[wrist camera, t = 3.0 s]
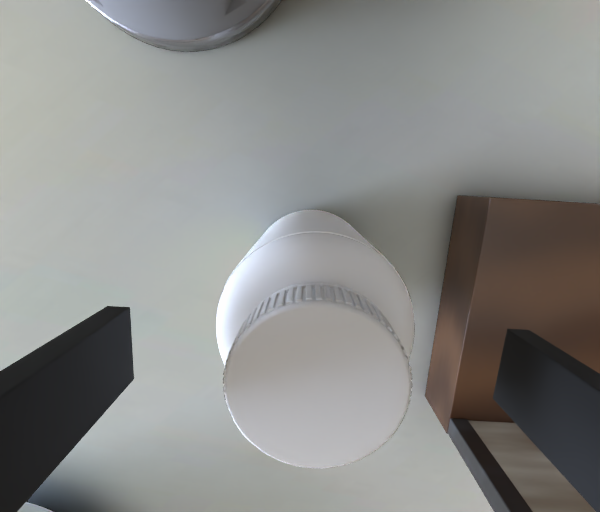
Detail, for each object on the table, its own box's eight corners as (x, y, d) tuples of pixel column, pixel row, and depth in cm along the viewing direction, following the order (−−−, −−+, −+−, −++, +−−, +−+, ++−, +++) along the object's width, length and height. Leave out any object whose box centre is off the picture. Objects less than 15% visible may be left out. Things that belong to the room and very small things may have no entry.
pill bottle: (238, 231, 23) (124, 312, 8) (344, 192, 22) (427, 204, 8) (278, 327, 24) (241, 540, 10) (377, 293, 24) (500, 466, 9)
